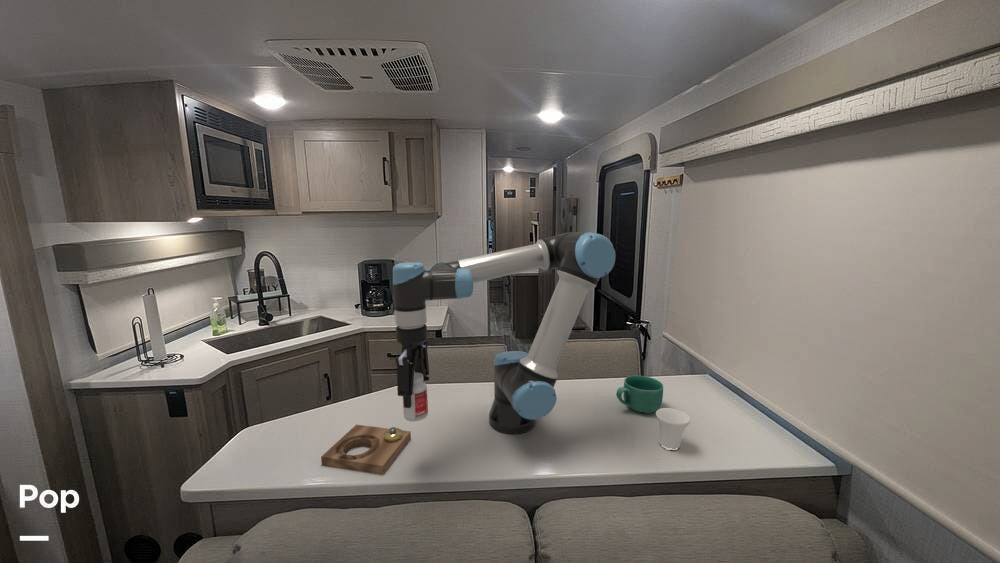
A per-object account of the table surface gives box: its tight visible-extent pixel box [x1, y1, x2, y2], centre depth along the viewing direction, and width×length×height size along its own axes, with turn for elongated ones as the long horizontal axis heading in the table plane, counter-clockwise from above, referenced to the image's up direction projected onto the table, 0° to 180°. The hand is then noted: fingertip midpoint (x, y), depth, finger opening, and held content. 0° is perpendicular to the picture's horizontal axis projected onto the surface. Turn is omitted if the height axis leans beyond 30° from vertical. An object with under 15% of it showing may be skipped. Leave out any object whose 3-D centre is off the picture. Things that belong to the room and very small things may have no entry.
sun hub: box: [384, 426, 402, 443], centre depth 106 cm, size 5×5×3 cm
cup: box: [655, 407, 691, 449], centre depth 105 cm, size 9×9×10 cm
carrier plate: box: [320, 424, 412, 475], centre depth 104 cm, size 18×16×2 cm
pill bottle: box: [402, 372, 429, 422], centre depth 94 cm, size 6×6×11 cm
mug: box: [615, 375, 664, 414], centre depth 127 cm, size 17×13×10 cm
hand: (415, 410), depth 95 cm, fingers closed on pill bottle, 6 cm apart
